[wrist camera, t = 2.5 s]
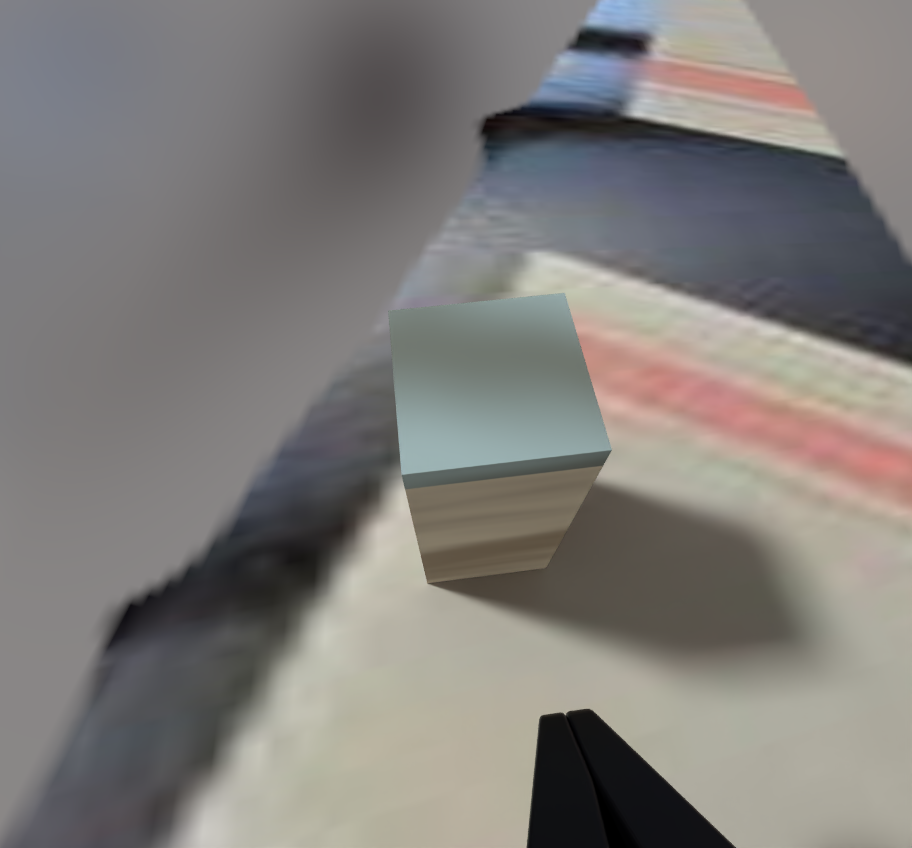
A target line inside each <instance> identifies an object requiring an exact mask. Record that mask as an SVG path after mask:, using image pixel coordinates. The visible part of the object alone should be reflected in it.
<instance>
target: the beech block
mask: <svg viewBox="0 0 912 848" xmlns="http://www.w3.org/2000/svg"><path fill="white" fill-rule="evenodd" d="M388 315H389V327H390V339H391V351H392V363H393V375H394V387H395V399H396V411H397V423H398V435H399V447H400V459H401V471H402V478H403V482H404V486H405V491H406V495H407V499H408V503H409V507H410V512H411V516H412V520H413V524H414V529H415V533H416V537H417V541H418V545H419V550H420V554H421V558H422V562H423V567H424V571H425V575H426V579H427V583H435V582H443V581H450V580H458V579H466V578H474V577H481V576H489V575H497V574H504V573H512V572H520V571H528V570H535V569H543V568H546V567H547V566H548V564H549V562H550V560H551V558H552V557H553V555H554V553H555V551H556V549H557V548H558V546H559V544H560V542H561V540H562V539H563V537H564V535H565V533H566V531H567V530H568V528H569V526H570V524H571V522H572V521H573V519H574V517H575V515H576V513H577V512H578V510H579V508H580V506H581V504H582V503H583V501H584V499H585V497H586V495H587V494H588V492H589V490H590V488H591V486H592V485H593V483H594V481H595V479H596V478H597V476H598V474H599V472H600V470H601V469H602V467H603V465H604V463H605V461H606V460H607V458H608V456H609V454H610V452H611V451H612V449H611V446H610V442H609V439H608V436H607V432H606V429H605V426H604V422H603V419H602V416H601V412H600V409H599V406H598V402H597V399H596V396H595V392H594V389H593V386H592V382H591V379H590V376H589V372H588V369H587V366H586V362H585V359H584V356H583V352H582V349H581V346H580V343H579V339H578V336H577V333H576V329H575V326H574V323H573V319H572V316H571V313H570V309H569V306H568V303H567V299H566V296H565V293H560V294H550V295H540V296H530V297H520V298H510V299H500V300H491V301H481V302H471V303H461V304H451V305H441V306H431V307H421V308H411V309H401V310H392V311H388Z"/></svg>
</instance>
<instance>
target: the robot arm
mask: <svg viewBox="0 0 912 848" xmlns="http://www.w3.org/2000/svg"><path fill="white" fill-rule="evenodd" d="M527 848H736V847H735V846H734V845H733V844H732V843H731V842H730V841H728V840H727V839H726V838H725V837H724V836H723V835H722V834H721V833H720V832H719V831H718V830H717V829H716V828H715V827H714V826H713V825H712V824H711V823H710V822H709V821H708V820H707V819H706V818H704V817H703V816H702V815H701V814H700V813H699V812H698V811H697V810H696V809H695V808H694V807H693V806H692V805H691V804H690V803H689V802H688V801H687V800H686V799H685V798H684V797H683V796H681V795H680V794H679V793H678V792H677V791H676V790H675V789H674V788H673V787H672V786H671V785H670V784H669V783H668V782H667V781H666V780H665V779H664V778H663V777H662V776H661V775H660V774H659V773H657V772H656V771H655V770H654V769H653V768H652V767H651V766H650V765H649V764H648V763H647V762H646V761H645V760H644V759H643V758H642V757H641V756H640V755H639V754H638V753H637V752H636V751H634V750H633V749H632V748H631V747H630V746H629V745H628V744H627V743H626V742H625V741H624V740H623V739H622V738H621V737H620V736H619V735H618V734H617V733H616V732H615V731H614V730H613V729H612V728H610V727H609V726H608V725H607V724H606V723H605V722H604V721H603V720H602V719H601V718H600V717H599V716H598V715H597V714H596V713H595V712H594V711H592V710H590V709H582V710H575V711H569V712H567V713H566V716H565V714H563V713H554V714H547V715H542V716H541V717H540V719H539V727H538V737H537V747H536V758H535V768H534V778H533V788H532V798H531V808H530V818H529V828H528V839H527Z"/></svg>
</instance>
